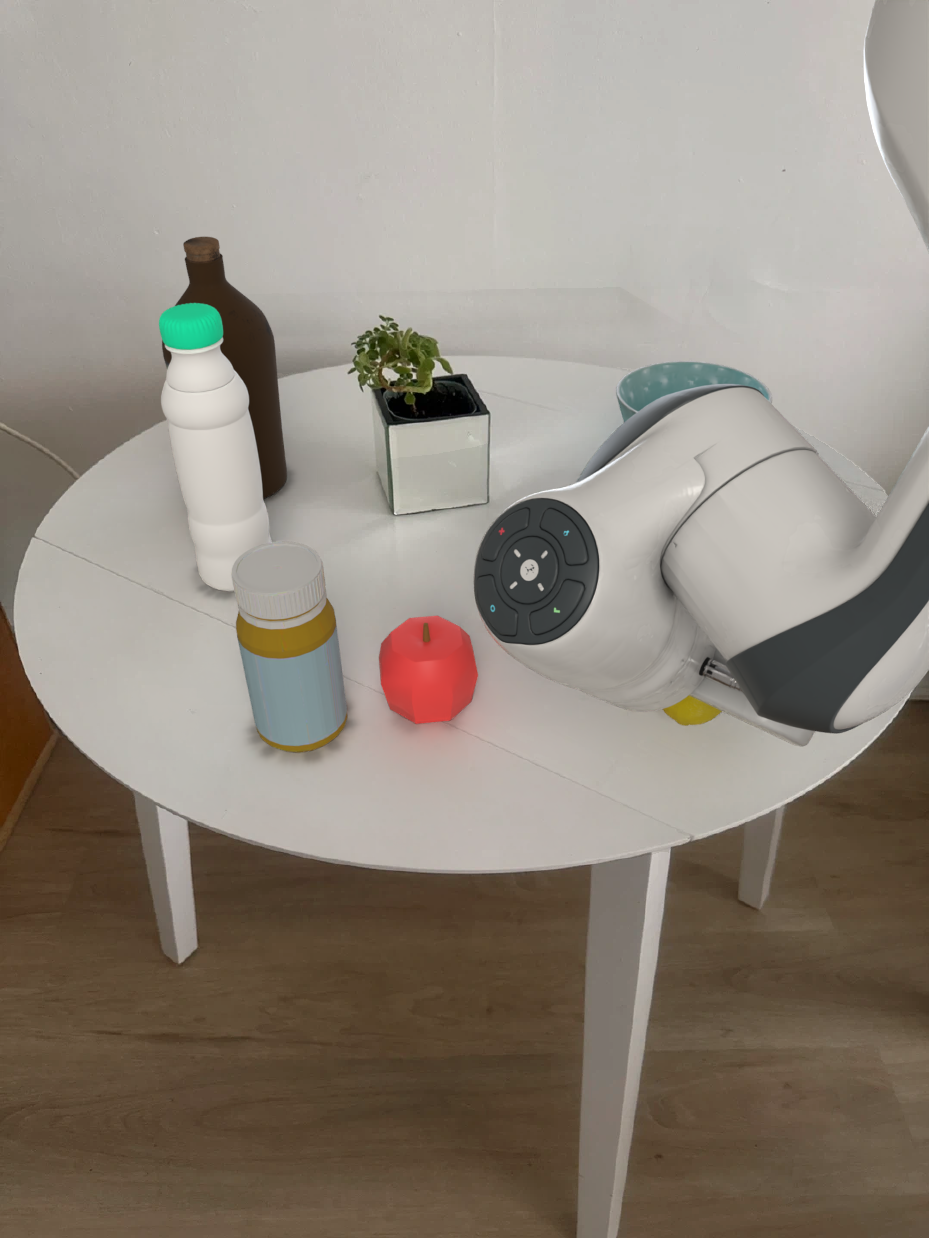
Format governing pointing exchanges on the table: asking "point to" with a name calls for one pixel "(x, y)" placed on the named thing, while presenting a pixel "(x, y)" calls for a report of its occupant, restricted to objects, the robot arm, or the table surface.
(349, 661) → the table surface
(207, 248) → the olive oil
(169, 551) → the table surface
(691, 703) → the fruit
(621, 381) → the bowl
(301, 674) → the bottle
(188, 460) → the water bottle
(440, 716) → the apple
